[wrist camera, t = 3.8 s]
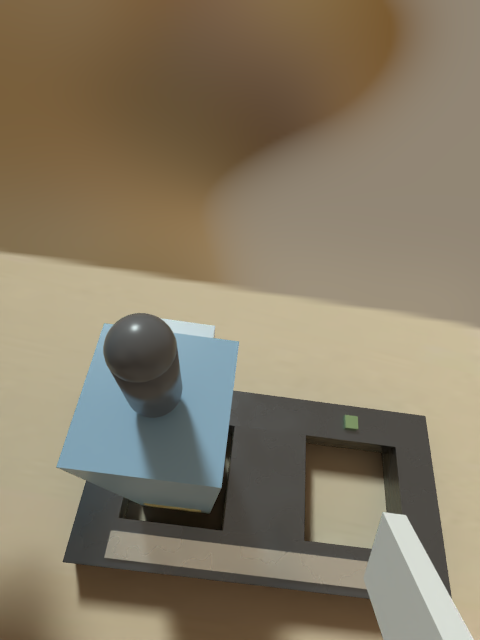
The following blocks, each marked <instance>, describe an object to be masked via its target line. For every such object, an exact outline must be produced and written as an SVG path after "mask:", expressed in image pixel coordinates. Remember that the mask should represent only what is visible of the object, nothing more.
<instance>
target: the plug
mask: <svg viewBox="0 0 480 640" xmlns="http://www.w3.org/2000/svg"><path fill="white" fill-rule="evenodd" d="M214 337H215V326H212V325H205V324H198V323H190V322H183V321H176V320H169V319H161V318H159V317H156V316H154V315H150V314H146V313H136V314H131V315H128V316H125V317H123V318H121V319H120V320H119V321H117V322H116V323H115V324H114V325H113V324H105V323H104V325H103V328H102V331H101V334H100V337H99V340H98V343H97V346H96V350H95V353H94V356H93V359H92V362H91V365H90V368H89V371H88V374H87V377H86V380H85V383H84V386H83V389H82V392H81V395H80V398H79V401H78V404H77V407H76V410H75V413H74V416H73V419H72V422H71V425H70V428H69V431H68V434H67V437H66V440H65V443H64V446H63V449H62V452H61V455H60V458H59V461H58V464H57V468H59V469H62V470H64V471H66V472H68V473H71V474H73V475H75V476H77V477H80V478H82V479H84V480H86V481H88V482H91V483H93V484H95V485H97V486H100V487H102V488H104V489H106V490H109V491H111V492H113V493H115V494H118V495H120V496H122V497H124V498H127V499H129V500H131V501H133V502H136V503H138V504H140V505H143V506H149V507H157V508H165V509H173V510H181V511H189V512H197V513H207V514H210V512H211V510H212V507H213V505H214V503H215V501H216V499H217V497H218V494H219V492H220V490H221V487H222V479H223V471H224V462H225V454H226V446H227V437H228V429H229V421H230V412H231V404H232V396H233V387H234V379H235V371H236V362H237V354H238V346H239V342H238V341H231V340H223V339H216V338H214Z"/></svg>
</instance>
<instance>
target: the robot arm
mask: <svg viewBox="0 0 480 640" xmlns="http://www.w3.org/2000/svg"><path fill="white" fill-rule="evenodd" d="M363 579H364V582H365V585H366V588H367V591H368V594H369V597H370V600H371V603H372V606H373V609H374V612H375V615H376V618H377V621H378V624H379V628H380V631H381V634H382V637H383V640H474V639H473V637H472V636H471V634H470V632H469V630H468V628H467V626H466V625H465V623H464V621H463V619H462V617H461V615H460V614H459V612H458V610H457V608H456V606H455V604H454V603H453V601H452V599H451V597H450V595H449V593H448V591H447V590H446V588H445V586H444V584H443V582H442V580H441V579H440V577H439V575H438V573H437V571H436V569H435V568H434V566H433V564H432V562H431V560H430V558H429V557H428V555H427V553H426V551H425V549H424V547H423V546H422V544H421V542H420V540H419V538H418V536H417V535H416V533H415V531H414V529H413V527H412V525H411V524H410V522H409V520H408V518H407V516H406V515H401V514H394V513H386V512H383V513H382V517H381V520H380V523H379V527H378V530H377V534H376V537H375V540H374V544H373V547H372V551H371V554H370V557H369V561H368V564H367V568H366V571H365V574H364V578H363Z"/></svg>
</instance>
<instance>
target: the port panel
mask: <svg viewBox="0 0 480 640" xmlns="http://www.w3.org/2000/svg"><path fill="white" fill-rule="evenodd" d="M228 433H232V441H231V450H230V459H229V468H228V476H227V485H226V494H225V503H224V511H223V520H222V529H221V530H212V529H204V528H196V527H188V526H180V525H172V524H164V523H156V522H147V521H139V520H131V519H125V517H126V513H127V508H128V504H129V499H127V498H124V497H122V496H120V495H118V494H115V493H113V492H111V491H109V490H106V489H104V488H102V487H100V486H97V485H95V484H93V483H91V482H88V481H86V483H85V486H84V490H83V493H82V497H81V500H80V504H79V507H78V511H77V514H76V517H75V521H74V524H73V528H72V531H71V535H70V538H69V542H68V545H67V548H66V552H65V555H64V559H63V562H66V563H74V564H83V565H91V566H100V567H108V568H116V569H125V570H133V571H141V572H150V573H158V574H167V575H175V576H183V577H192V578H200V579H208V580H217V581H225V582H234V583H242V584H250V585H259V586H267V587H275V588H284V589H292V590H301V591H309V592H317V593H326V594H334V595H343V596H351V597H359V598H368V599H370V597H369V594H368V591H367V588H366V585H365V582H364V579H363V578H364V574H365V571H366V568H367V564H368V561H369V557H370V554H371V551H372V549H367V548H359V547H351V546H343V545H335V544H326V543H318V542H310V541H304V521H305V461H306V443H311V444H318V445H326V446H334V447H341V448H349V449H357V450H364V451H372V452H380V453H382V460H383V473H384V485H385V497H386V509H387V513H394V514H401V515H406V516H407V518H408V520H409V522H410V524H411V525H412V527H413V529H414V531H415V533H416V535H417V536H418V538H419V540H420V542H421V544H422V546H423V547H424V549H425V551H426V553H427V555H428V557H429V558H430V560H431V562H432V564H433V566H434V568H435V569H436V571H437V573H438V575H439V577H440V579H441V580H442V582H443V584H444V586H445V588H446V590H447V591H448V593H449V595H450V597H451V590H450V583H449V577H448V570H447V563H446V556H445V549H444V542H443V535H442V528H441V521H440V514H439V508H438V501H437V494H436V487H435V480H434V473H433V466H432V459H431V452H430V445H429V438H428V432H427V425H426V418H425V416H420V415H413V414H405V413H398V412H390V411H383V410H375V409H368V408H360V407H353V406H345V405H338V404H330V403H323V402H315V401H307V400H300V399H292V398H285V397H277V396H270V395H262V394H255V393H247V392H240V391H233V396H232V404H231V412H230V421H229V429H228ZM451 599H452V597H451Z"/></svg>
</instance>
